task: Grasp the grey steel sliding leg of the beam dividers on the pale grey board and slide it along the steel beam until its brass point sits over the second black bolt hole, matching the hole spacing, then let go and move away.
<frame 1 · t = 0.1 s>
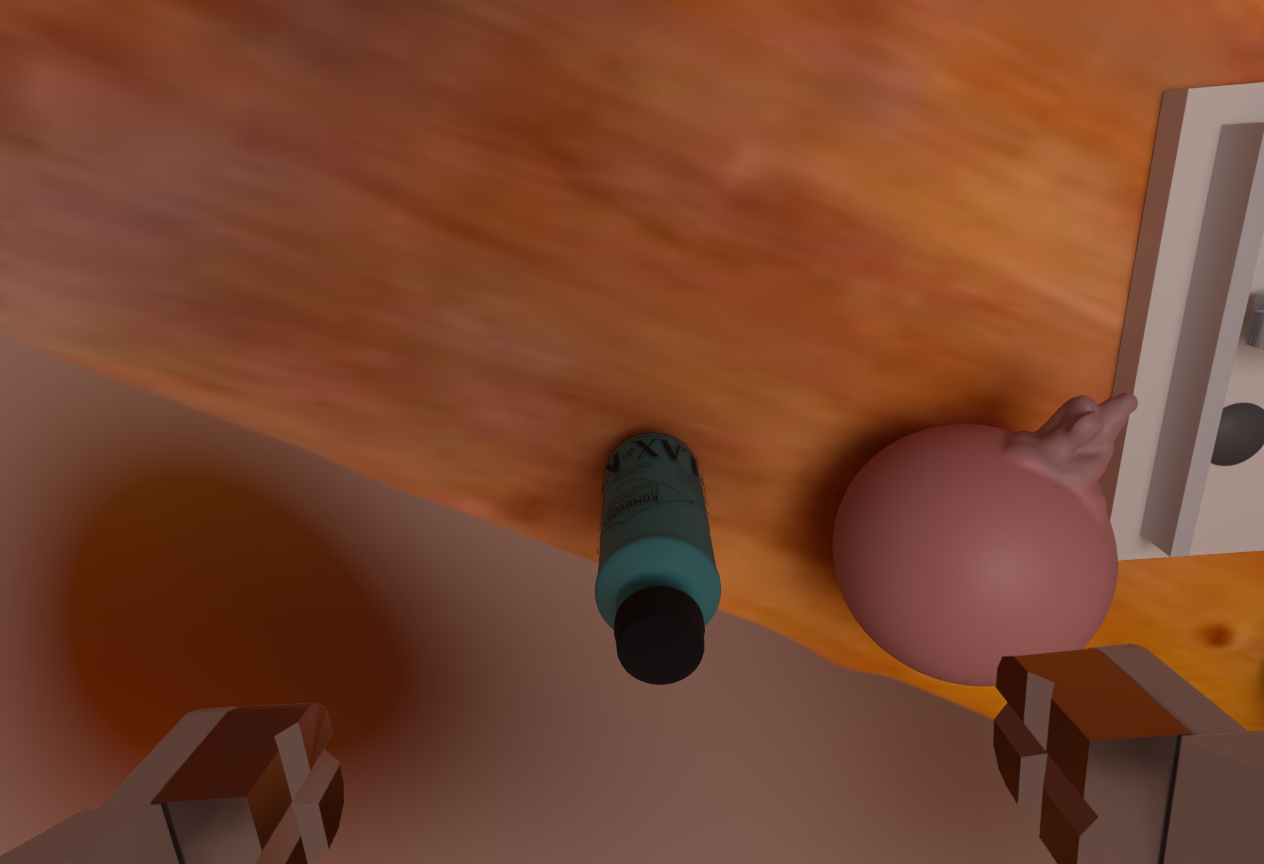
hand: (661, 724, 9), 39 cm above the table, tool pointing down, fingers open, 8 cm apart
beverage bottle: (650, 463, 50), on the table
divider board: (1230, 337, 47), on the table
balloon: (938, 468, 50), on the table
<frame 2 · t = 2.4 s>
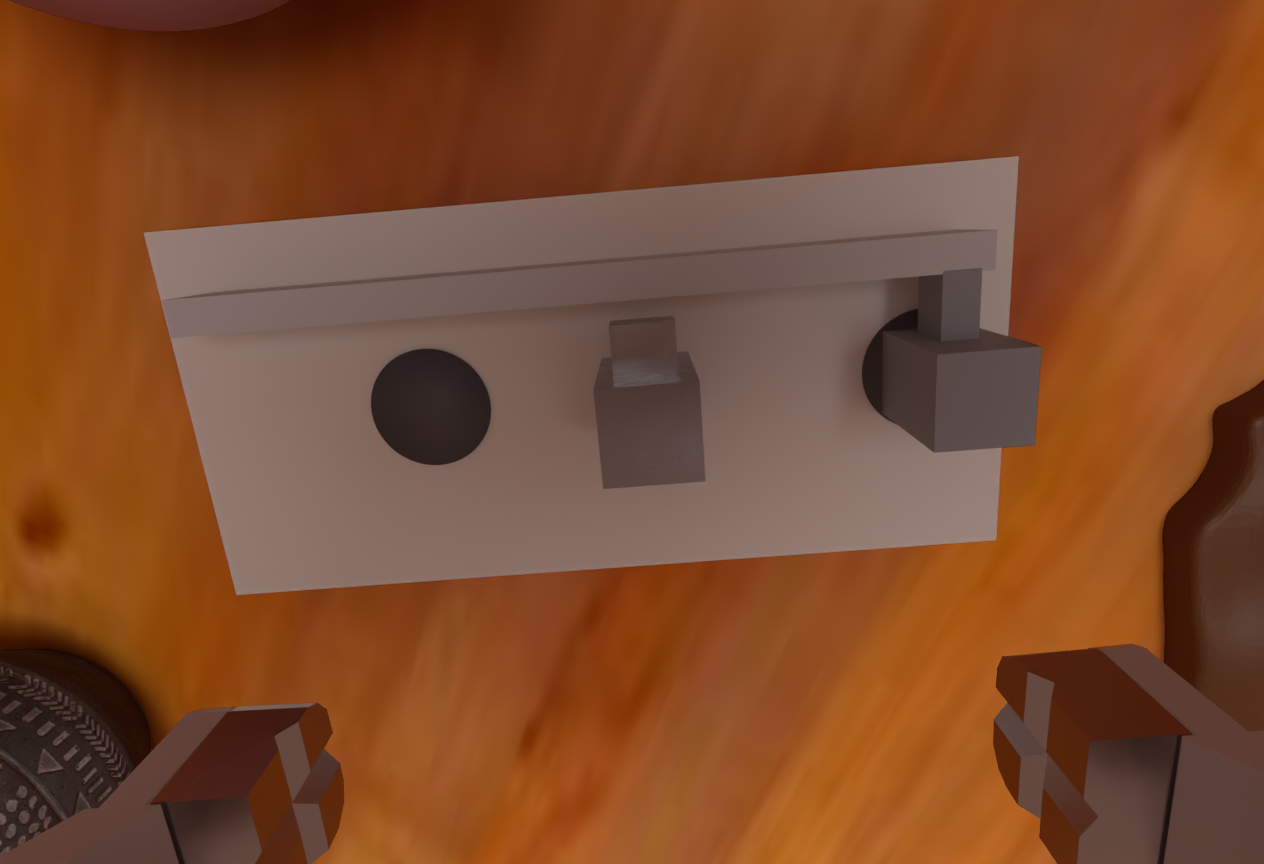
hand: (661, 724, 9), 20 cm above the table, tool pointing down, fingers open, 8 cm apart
planter: (62, 724, 33), on the table
divider board: (596, 383, 29), on the table
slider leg: (647, 390, 23), point 5 cm above the table, slide at 6.0 cm
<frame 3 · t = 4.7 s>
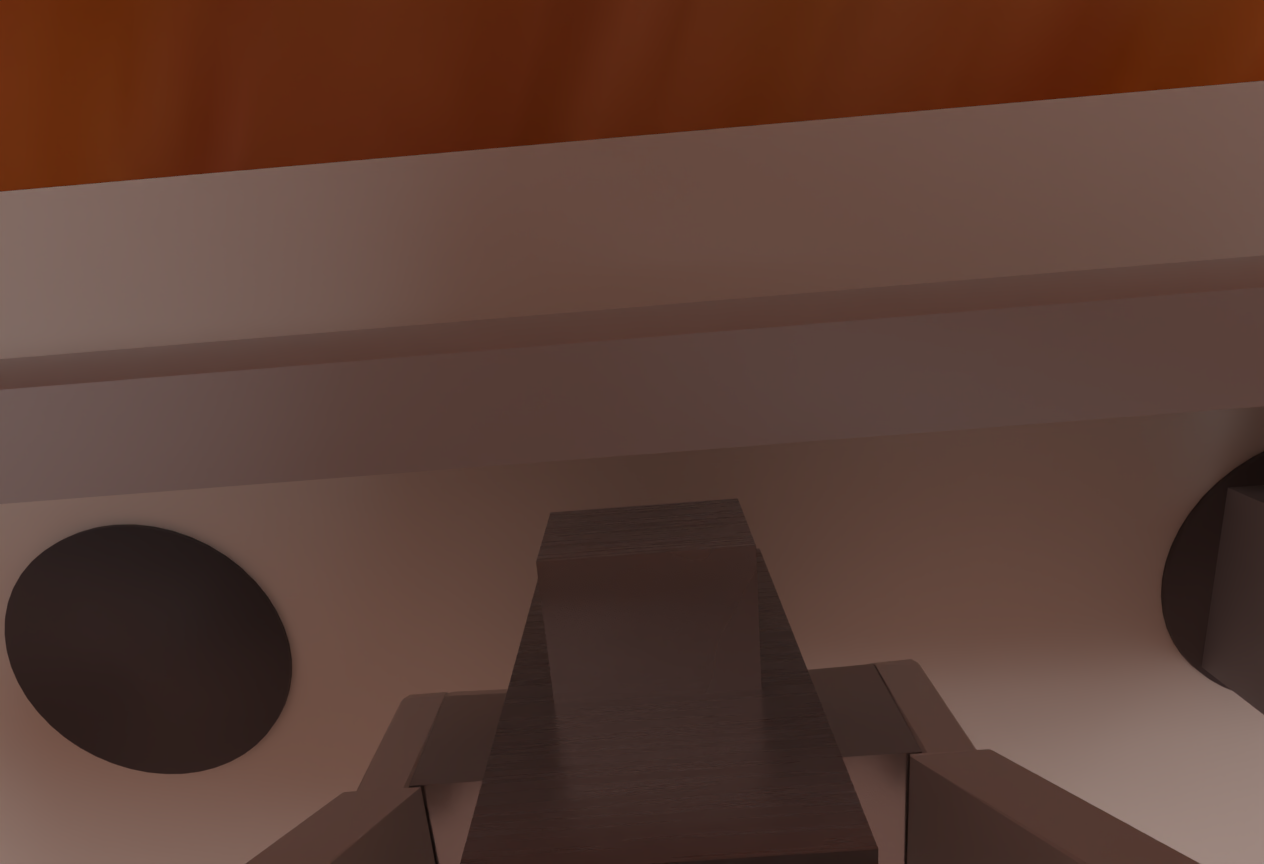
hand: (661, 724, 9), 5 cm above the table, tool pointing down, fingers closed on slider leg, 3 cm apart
divider board: (543, 568, 13), on the table
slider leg: (660, 710, 8), point 5 cm above the table, slide at 6.0 cm, touching gripper
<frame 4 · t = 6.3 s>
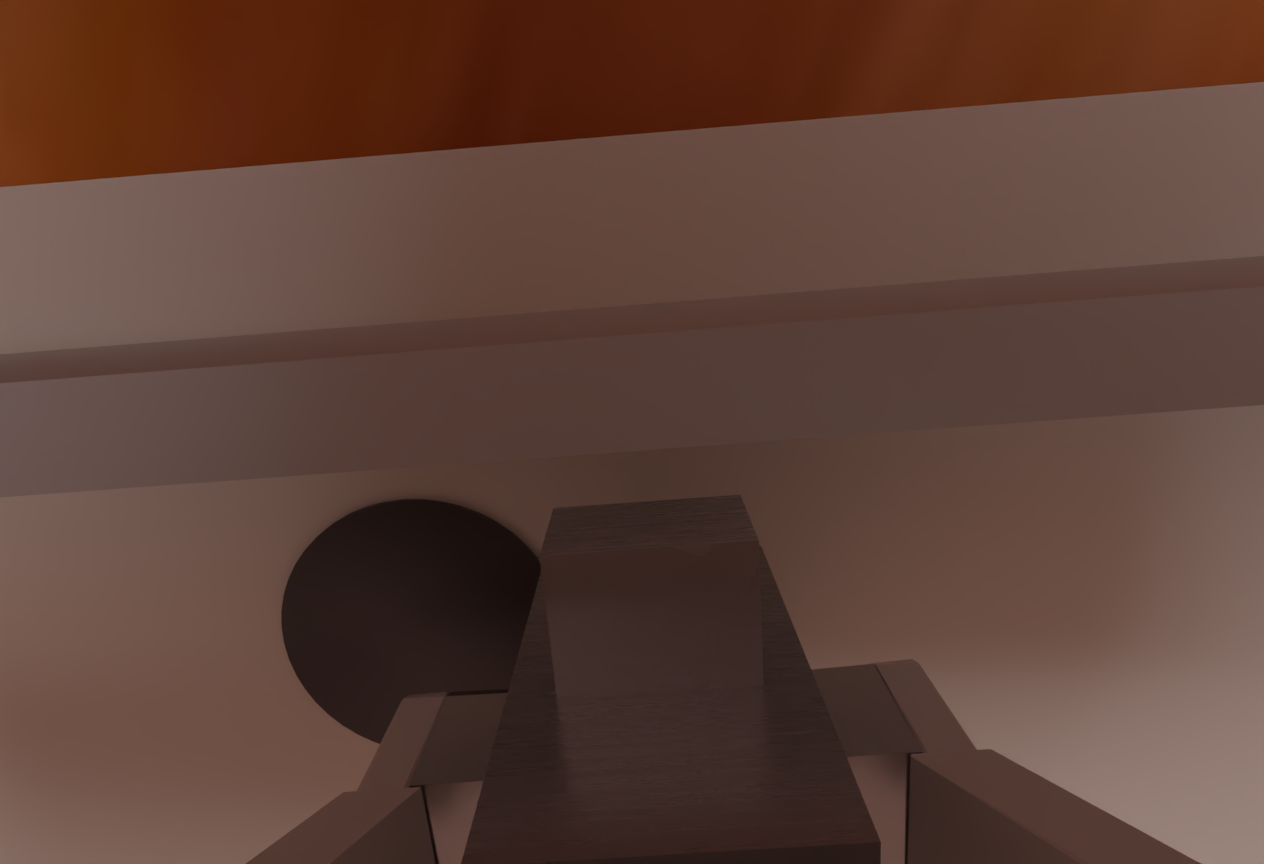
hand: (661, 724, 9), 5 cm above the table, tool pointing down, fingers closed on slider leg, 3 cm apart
divider board: (782, 549, 13), on the table
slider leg: (661, 706, 8), point 5 cm above the table, slide at 10.4 cm, touching gripper
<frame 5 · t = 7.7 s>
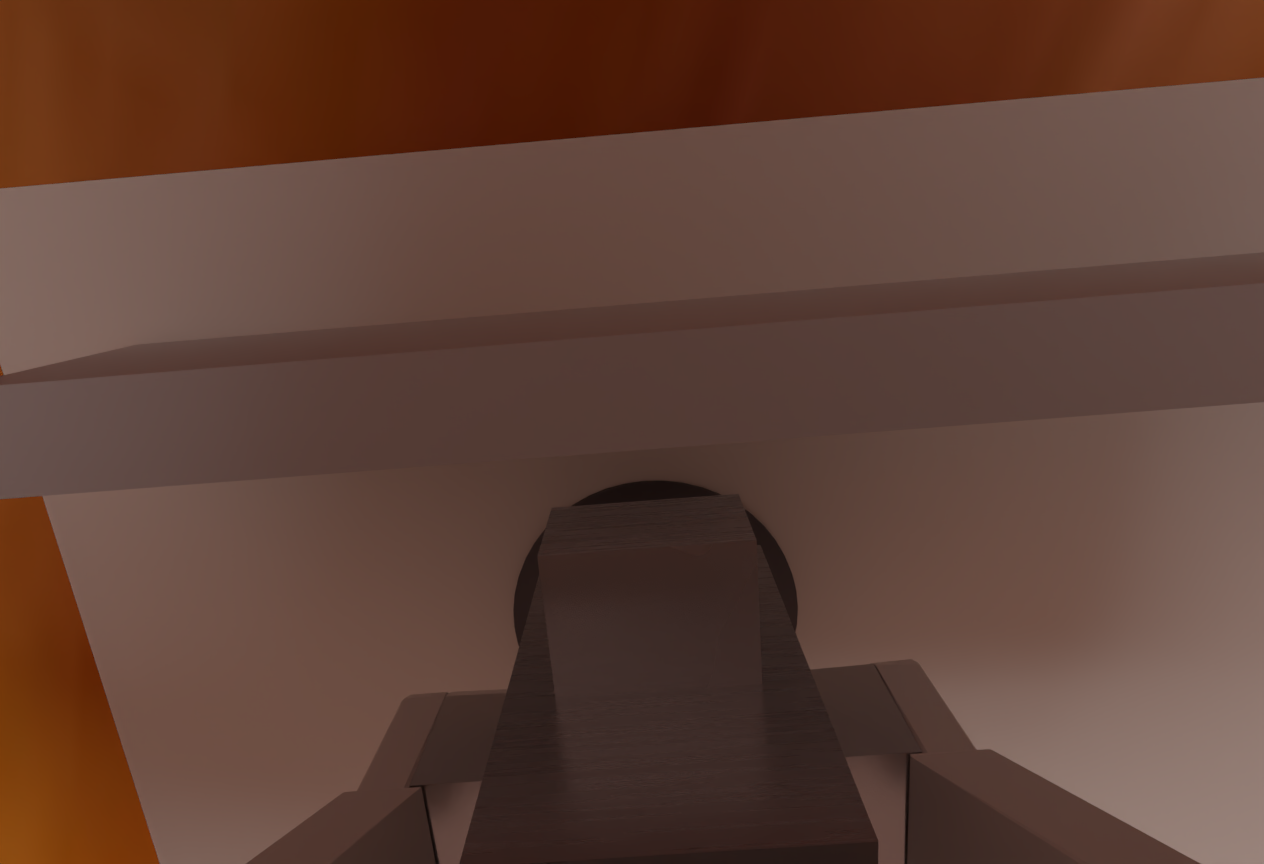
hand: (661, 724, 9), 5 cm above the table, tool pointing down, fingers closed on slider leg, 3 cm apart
divider board: (983, 533, 13), on the table
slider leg: (660, 705, 8), point 5 cm above the table, slide at 14.0 cm, touching gripper
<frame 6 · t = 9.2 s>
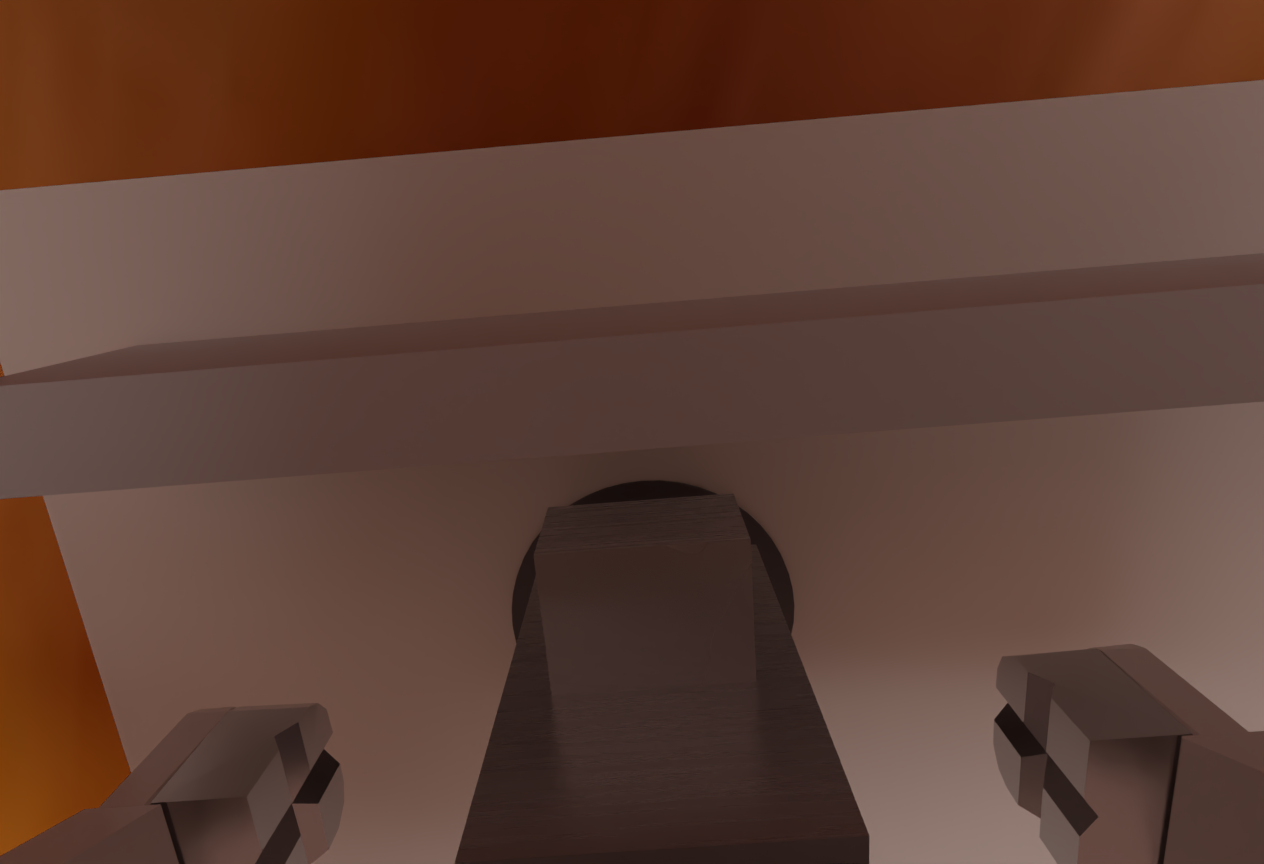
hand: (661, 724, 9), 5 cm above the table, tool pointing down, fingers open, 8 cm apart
divider board: (978, 532, 13), on the table
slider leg: (656, 703, 8), point 5 cm above the table, slide at 14.0 cm
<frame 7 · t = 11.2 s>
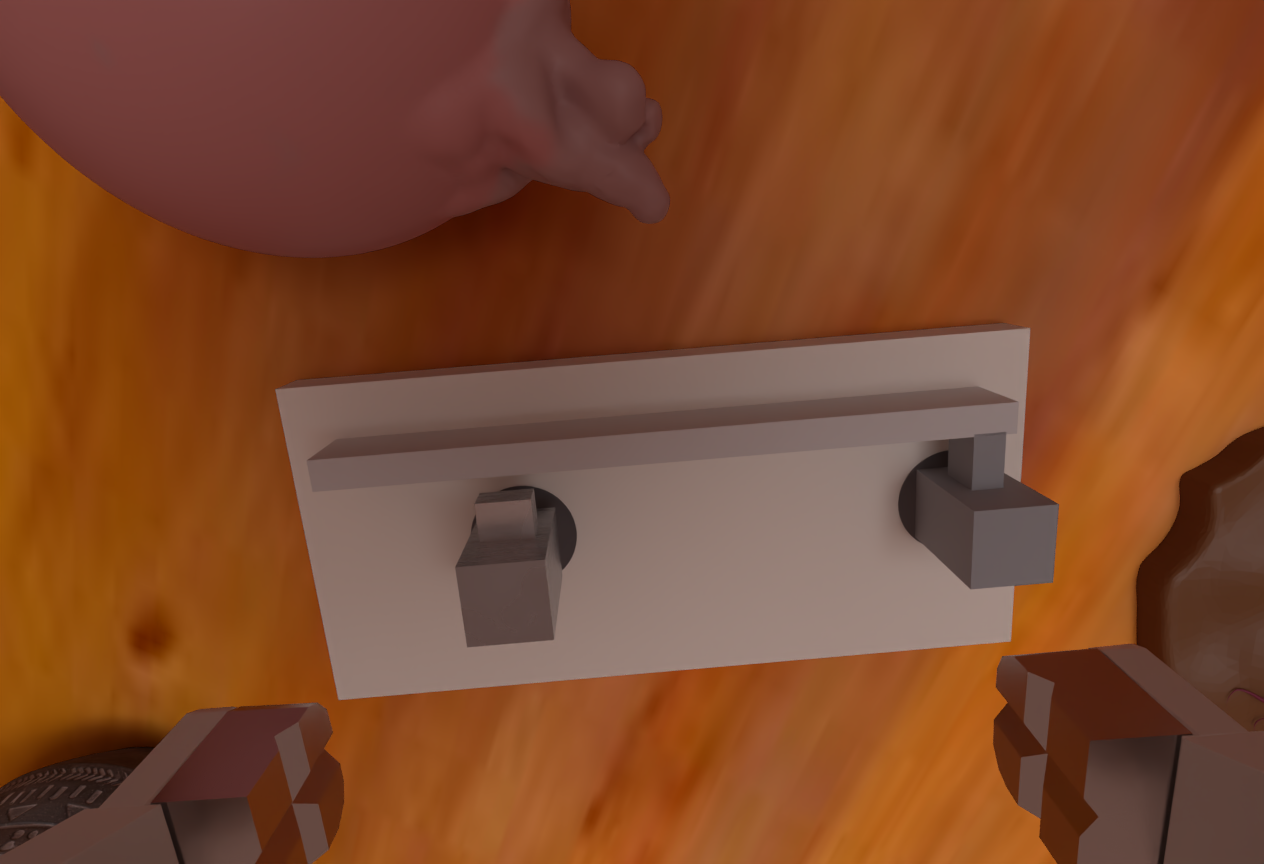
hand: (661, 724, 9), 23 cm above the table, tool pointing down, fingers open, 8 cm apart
planter: (156, 815, 36), on the table
divider board: (663, 506, 32), on the table
balloon: (425, 84, 28), on the table
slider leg: (512, 551, 27), point 5 cm above the table, slide at 14.0 cm
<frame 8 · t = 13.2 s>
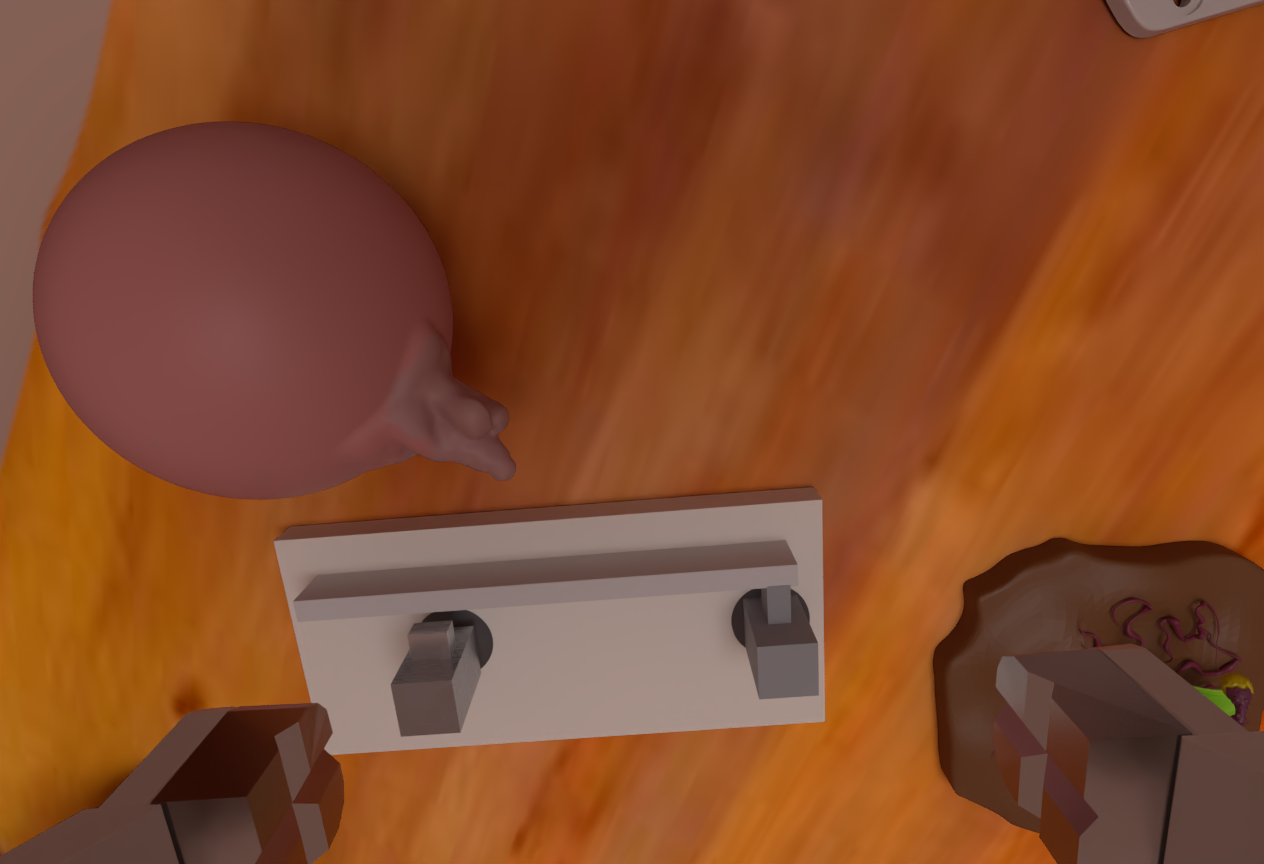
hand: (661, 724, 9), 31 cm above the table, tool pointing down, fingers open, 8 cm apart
plant: (1086, 680, 45), on the table
divider board: (562, 616, 43), on the table
balloon: (377, 325, 39), on the table
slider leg: (437, 663, 38), point 5 cm above the table, slide at 14.0 cm
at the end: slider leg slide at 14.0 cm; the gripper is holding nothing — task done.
